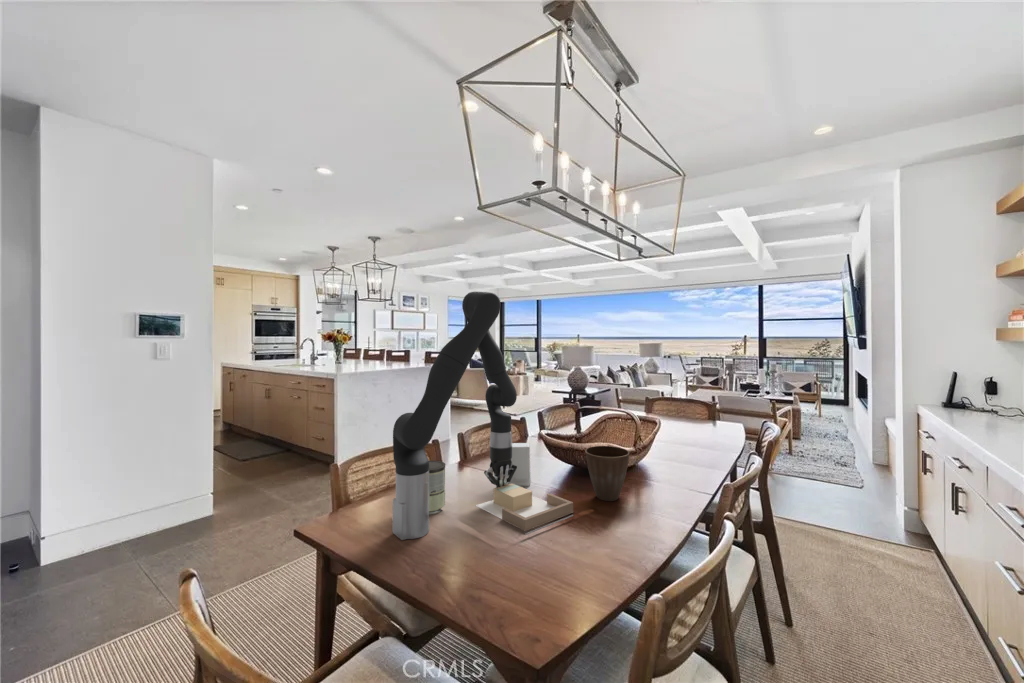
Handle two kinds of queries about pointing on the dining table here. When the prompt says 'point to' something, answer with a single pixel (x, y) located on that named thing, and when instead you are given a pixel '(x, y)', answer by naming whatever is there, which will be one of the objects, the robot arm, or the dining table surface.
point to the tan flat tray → (532, 512)
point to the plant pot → (607, 470)
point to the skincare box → (521, 464)
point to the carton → (512, 497)
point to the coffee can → (436, 486)
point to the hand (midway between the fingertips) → (500, 495)
